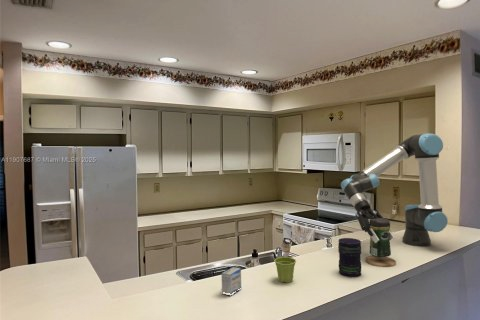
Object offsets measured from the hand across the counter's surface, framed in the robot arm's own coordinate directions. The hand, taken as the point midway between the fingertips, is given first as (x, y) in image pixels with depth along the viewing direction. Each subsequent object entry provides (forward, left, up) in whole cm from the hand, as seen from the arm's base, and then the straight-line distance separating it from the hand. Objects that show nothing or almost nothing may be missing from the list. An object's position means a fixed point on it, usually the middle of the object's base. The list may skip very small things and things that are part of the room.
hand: (384, 240), depth 157 cm
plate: (0, -3, -12) cm, 12 cm away
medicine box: (+79, +10, -12) cm, 81 cm away
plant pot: (+54, +5, -12) cm, 56 cm away
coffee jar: (+1, -3, -9) cm, 9 cm away
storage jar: (+23, +6, -12) cm, 27 cm away
